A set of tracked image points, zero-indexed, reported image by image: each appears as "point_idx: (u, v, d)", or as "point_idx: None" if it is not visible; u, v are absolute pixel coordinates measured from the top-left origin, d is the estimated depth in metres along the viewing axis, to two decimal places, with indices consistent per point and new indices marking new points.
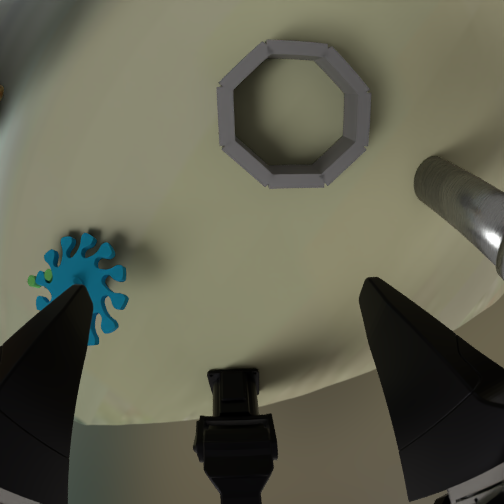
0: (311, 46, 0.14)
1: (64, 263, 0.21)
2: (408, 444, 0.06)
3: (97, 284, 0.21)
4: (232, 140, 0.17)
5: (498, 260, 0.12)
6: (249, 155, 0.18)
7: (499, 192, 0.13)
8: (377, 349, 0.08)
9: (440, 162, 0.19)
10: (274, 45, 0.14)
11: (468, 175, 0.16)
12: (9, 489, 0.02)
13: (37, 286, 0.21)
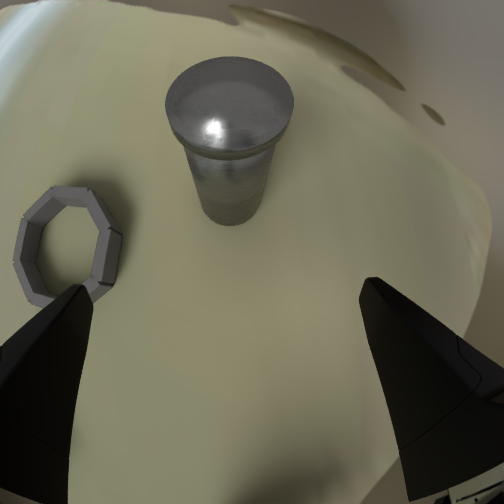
0: (43, 197, 0.19)
1: None
2: (408, 444, 0.06)
3: None
4: (31, 293, 0.18)
5: (192, 150, 0.11)
6: (44, 297, 0.18)
7: None
8: (377, 349, 0.08)
9: None
10: (27, 214, 0.19)
11: None
12: (9, 489, 0.02)
13: None
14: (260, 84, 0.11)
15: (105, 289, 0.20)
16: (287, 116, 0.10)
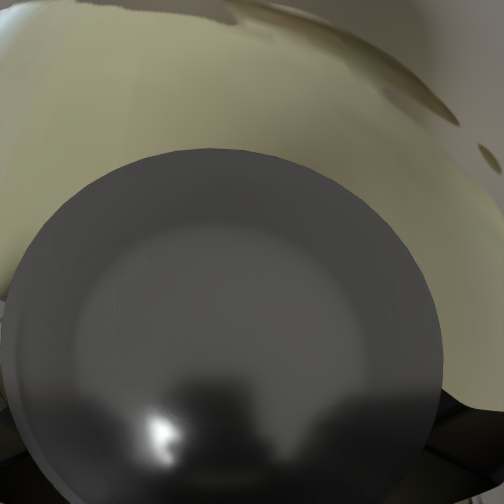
0: None
1: None
2: None
3: None
4: None
5: None
6: None
7: None
8: None
9: None
10: None
11: None
12: None
13: None
14: (342, 342, 0.03)
15: None
16: (409, 461, 0.02)
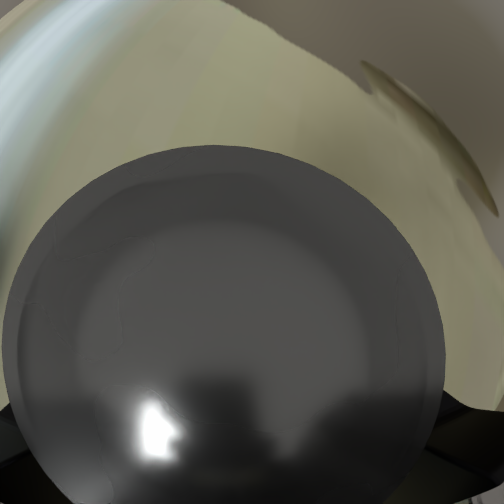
0: None
1: None
2: None
3: None
4: None
5: None
6: None
7: None
8: None
9: None
10: None
11: None
12: None
13: None
14: (346, 337, 0.03)
15: None
16: (412, 458, 0.02)
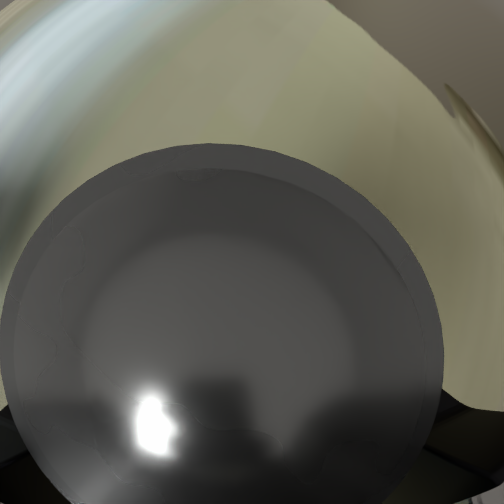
0: None
1: None
2: None
3: None
4: None
5: None
6: None
7: None
8: None
9: None
10: None
11: None
12: None
13: None
14: (342, 336, 0.03)
15: None
16: (410, 458, 0.02)
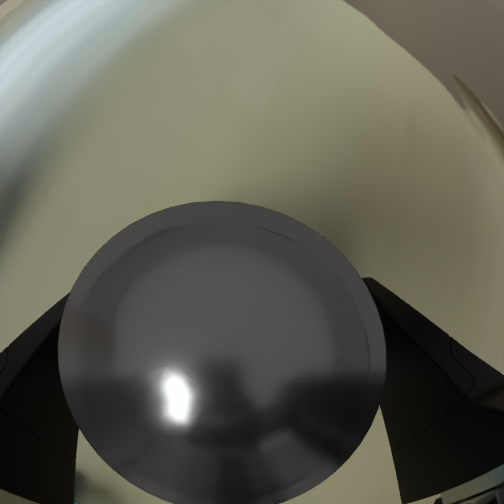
0: None
1: None
2: (400, 447, 0.06)
3: None
4: None
5: None
6: None
7: None
8: None
9: None
10: None
11: None
12: (16, 493, 0.02)
13: None
14: (306, 332, 0.04)
15: None
16: (364, 427, 0.04)
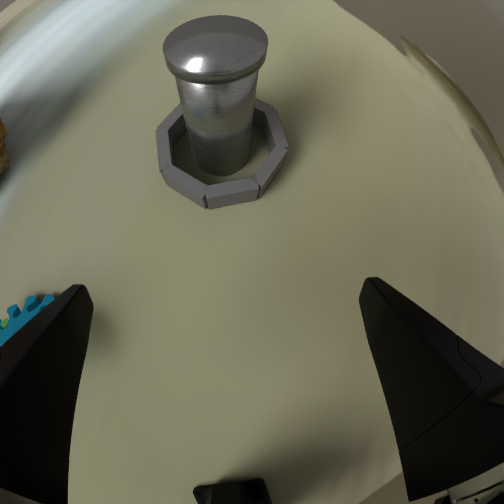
0: None
1: (21, 315, 0.18)
2: (408, 444, 0.06)
3: None
4: (169, 164, 0.20)
5: (183, 77, 0.12)
6: (184, 173, 0.20)
7: None
8: (377, 349, 0.08)
9: None
10: None
11: None
12: (9, 489, 0.02)
13: None
14: (241, 32, 0.12)
15: (252, 197, 0.22)
16: (262, 51, 0.11)
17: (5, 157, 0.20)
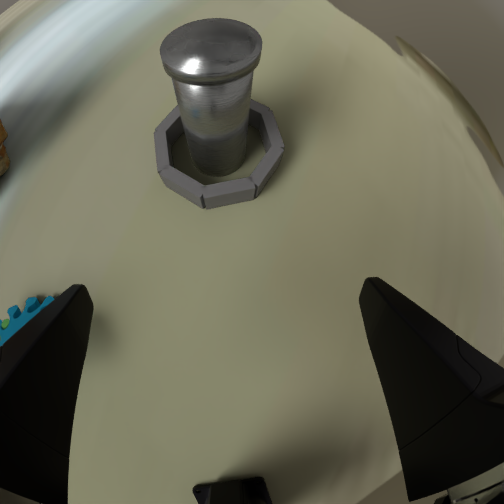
0: None
1: (22, 316, 0.18)
2: (408, 444, 0.06)
3: None
4: (167, 165, 0.21)
5: (179, 79, 0.12)
6: (182, 174, 0.21)
7: None
8: (377, 349, 0.08)
9: None
10: None
11: None
12: (9, 489, 0.02)
13: None
14: (235, 34, 0.12)
15: (248, 197, 0.23)
16: (256, 52, 0.12)
17: (5, 160, 0.21)
